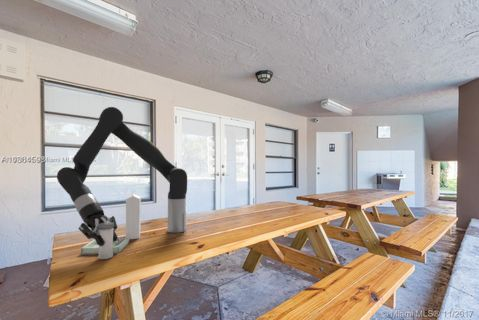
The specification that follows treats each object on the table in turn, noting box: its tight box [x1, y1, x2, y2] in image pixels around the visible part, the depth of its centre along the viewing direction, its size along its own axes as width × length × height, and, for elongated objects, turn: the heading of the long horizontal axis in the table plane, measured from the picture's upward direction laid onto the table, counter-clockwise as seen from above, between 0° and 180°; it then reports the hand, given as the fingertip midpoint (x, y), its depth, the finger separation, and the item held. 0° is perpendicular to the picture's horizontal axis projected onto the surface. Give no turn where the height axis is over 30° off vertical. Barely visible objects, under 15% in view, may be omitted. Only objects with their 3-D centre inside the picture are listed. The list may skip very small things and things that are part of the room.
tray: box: [80, 237, 130, 256], centre depth 102 cm, size 14×12×2 cm
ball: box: [115, 236, 123, 245], centre depth 105 cm, size 3×3×3 cm
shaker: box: [98, 221, 114, 260], centre depth 93 cm, size 5×5×12 cm
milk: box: [125, 191, 142, 240], centre depth 118 cm, size 6×6×22 cm
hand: (109, 242), depth 92 cm, fingers closed on shaker, 4 cm apart
